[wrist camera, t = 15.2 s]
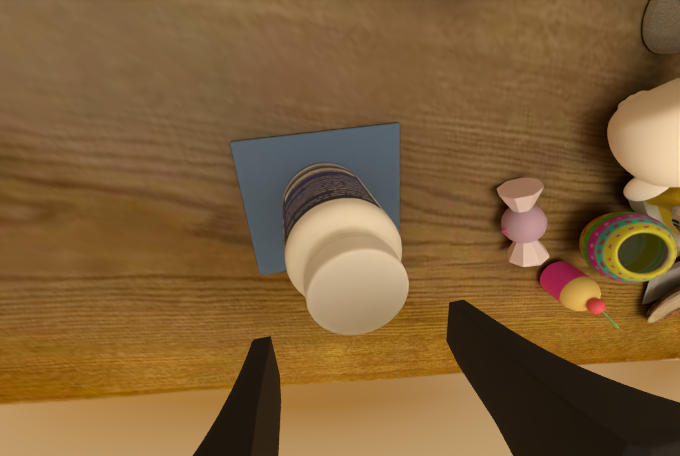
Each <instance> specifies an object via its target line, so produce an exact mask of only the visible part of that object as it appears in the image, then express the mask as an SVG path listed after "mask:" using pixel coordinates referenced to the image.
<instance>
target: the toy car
mask: <svg viewBox="0 0 680 456" xmlns="http://www.w3.org/2000/svg"><path fill="white" fill-rule="evenodd" d="M628 201H629V203H630V206H631V208H632V209H633V210H634V211H635V212H636V213H641V214H644V215H647V216H650V217H652V218H654V219H656V220H658V221H660V222H661V223H663V224H664V225H665V226H666V227H667V228H668V229H669V230H670V231H671V233H672V234H673V236H674V238H675V240H676V243H677V251H679V252H680V187H669V188H668V189H667V190H666V191H664V192H663V193H661V194H659V195H658V196H656V197H653V198H651V199H648V200H644V201H632V200H629V199H628Z"/></svg>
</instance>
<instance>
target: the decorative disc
mask: <svg viewBox="0 0 680 456" xmlns="http://www.w3.org/2000/svg"><path fill="white" fill-rule="evenodd" d="M678 313H680V287H679V288H677V289H675V290H673V291H671V292H670V293H668V294H667V295H665V296H664V297H662V298H661V299H659V300H658V301H657V302H656V303H654V304H653V305H652V306H651V308H650V309H649V310H648V312H647V313H646V317H647V322H650V323H656V322H658V321H661V320H662V319H666V318H667V317H670V316H676V315H677V314H678Z"/></svg>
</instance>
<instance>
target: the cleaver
mask: <svg viewBox="0 0 680 456" xmlns="http://www.w3.org/2000/svg"><path fill="white" fill-rule="evenodd" d="M679 287H680V261H679V262H677V263H674V264H673V265H672V266H671V268H670V269H669V270H668V271H667V272H665V273H664V274H663V275H661V276H659V277H657V278H655V279H652V280H649V283H648V286H647V290H646V293H645V296H644V299H643V302H642V304H645V303H650V302H653V301H656V300H658V299H661V298H662V297H664V296H665V295H667V294H668V293H670V292H671V291H673V290H675V289H677V288H679Z"/></svg>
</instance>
